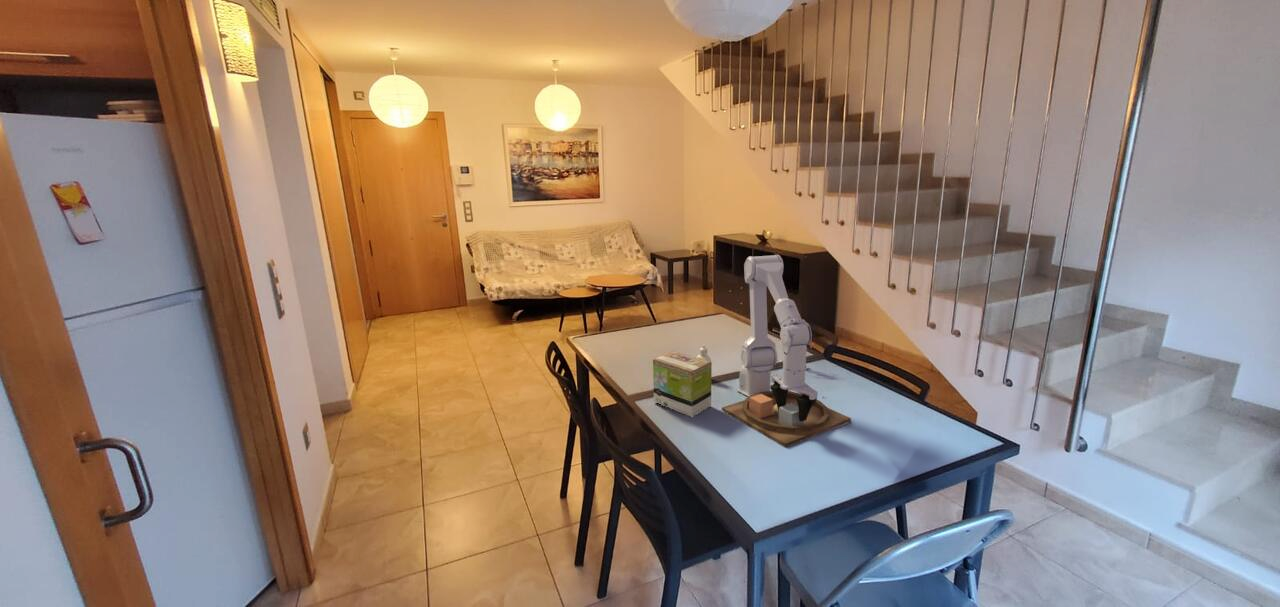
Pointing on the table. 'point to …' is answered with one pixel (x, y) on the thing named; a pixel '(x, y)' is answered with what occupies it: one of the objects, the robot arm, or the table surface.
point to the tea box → (682, 382)
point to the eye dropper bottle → (704, 354)
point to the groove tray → (788, 435)
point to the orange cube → (761, 406)
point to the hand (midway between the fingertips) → (791, 414)
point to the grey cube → (789, 415)
